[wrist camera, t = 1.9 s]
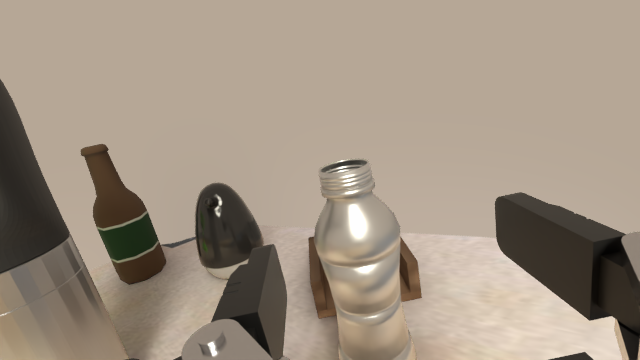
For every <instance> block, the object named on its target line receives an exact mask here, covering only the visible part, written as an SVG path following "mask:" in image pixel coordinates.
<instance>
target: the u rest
mask: <svg viewBox="0 0 640 360" xmlns="http://www.w3.org/2000/svg"><path fill="white" fill-rule="evenodd" d="M400 240H401V241H400V265H399V276H400V291H401V302H403V301H408V300H413V299H418V298H422V297H421V288H420V279H419V271H418V262H417V260H416V258H415V257H414V255H413V254H412V253H411V251H410V250H409V248H408V247H407V245H406V244H405V242H404V241H403V240H402V238H401V237H400ZM309 259H310V282H311V287H312V291H313V295H314V300H315V304H316V308H317V312H318V317H319V318H324V317H329V316H334V315H337V312H336V308H335V304H334V300H333V297H332V293H331V289H330V285H329V282H328V279H327V277H326V274H325V271H324V269H323V266H322V263H321V261H320V258H319V255H318V253H317V250H316V246H315V243H314V237H310V238H309Z"/></svg>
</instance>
